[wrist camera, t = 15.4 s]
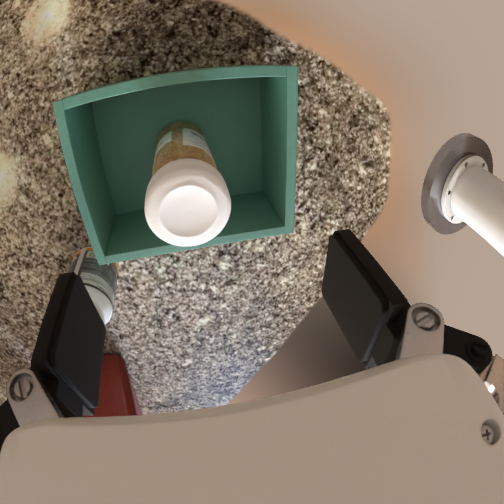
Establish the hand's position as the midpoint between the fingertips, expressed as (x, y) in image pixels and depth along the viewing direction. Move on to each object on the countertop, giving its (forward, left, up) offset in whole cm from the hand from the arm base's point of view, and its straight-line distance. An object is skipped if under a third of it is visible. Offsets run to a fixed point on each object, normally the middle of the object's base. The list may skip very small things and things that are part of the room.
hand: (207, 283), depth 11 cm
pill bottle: (+12, +12, -20) cm, 26 cm away
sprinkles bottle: (0, 0, -19) cm, 19 cm away
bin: (0, 0, -20) cm, 20 cm away
